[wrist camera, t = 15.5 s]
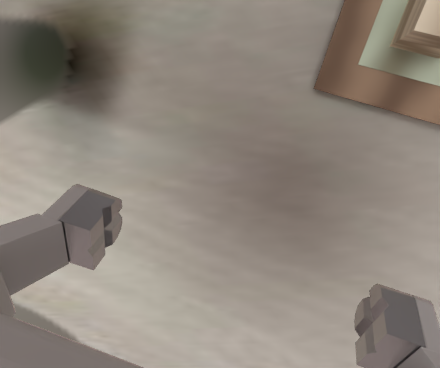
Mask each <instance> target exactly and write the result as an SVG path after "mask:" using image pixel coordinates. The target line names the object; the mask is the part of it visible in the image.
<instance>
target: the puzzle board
mask: <svg viewBox="0 0 440 368" xmlns="http://www.w3.org/2000/svg"><path fill="white" fill-rule="evenodd" d="M407 3H408V0H345V1H344V4H343V7H342V10H341V12H340V15H339V18H338V21H337V24H336V27H335V29H334V32H333V35H332V38H331V41H330V44H329V46H328V49H327V52H326V55H325V58H324V61H323V64H322V66H321V69H320V72H319V75H318V78H317V81H316V83H315V86H314V89H317V90H320V91H324V92H327V93H331V94H334V95H338V96H341V97H344V98H348V99H351V100H355V101H358V102H362V103H365V104H369V105H372V106H376V107H379V108H383V109H386V110H390V111H393V112H397V113H400V114H404V115H407V116H411V117H414V118H418V119H421V120H424V121H428V122H431V123H435V124H438V125H440V58H434V57H430V56H426V55H422V54H418V53H414V52H410V51H406V50H402V49H398V48H394V47H390V44H391V42H392V39H393V37H394V34H395V32H396V29H397V27H398V25H399V22H400V20H401V17H402V15H403V12H404V10H405V8H406V5H407Z"/></svg>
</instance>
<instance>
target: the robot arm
mask: <svg viewBox="0 0 440 368" xmlns="http://www.w3.org/2000/svg"><path fill="white" fill-rule="evenodd" d="M121 209H122V200H121V199H119V198H117V197H114V196H111V195H108V194H105V193H103V192H100V191H97V190H94V189H91V188H88V187H85V186H82V185H80V184H76V185H73V186H72V187H71V188H70V189H69V190H68V191H67V192H66V193H64V194H63V195H62V196H61V197H60V198H59V199H58V200H57V201H56V202H55V203H54V204H53V205H52V206H51V207H50V208H49V209H47V210H46V211H45V212H44V213H43V214H42V215H40V214H35V215H32V216H29V217H26V218H22V219H19V220H16V221H13V222H10V223H7V224H4V225H1V226H0V368H143V367H141V366H138V365H136V364H133V363H131V362H128V361H125V360H123V359H120V358H118V357H115V356H112V355H110V354H107V353H105V352H102V351H99V350H97V349H94V348H92V347H89V346H86V345H84V344H81V343H79V342H76V341H73V340H71V339H68V338H66V337H63V336H60V335H58V334H55V333H52V332H50V331H48V330H45V329H42V328H40V327H37V326H35V325H32V324H29V323H27V322H24V321H21V320H19V319H16V318H14V317H13V316H14V315H15V313H16V312H15V307H14V304H13V302H12V299H11V295H12V294H14V293H16V292H18V291H20V290H22V289H23V288H25V287H27V286H29V285H31V284H33V283H34V282H36V281H38V280H40V279H42V278H43V277H45V276H47V275H49V274H51V273H53V272H54V271H56V270H58V269H60V268H62V267H64V266H65V265H67V264H69V262H70V263H73V264H76V265H79V266H82V267H85V268H88V269H91V270H94V269H95V268H96V267H97V265H98V264H99V263H100V261H101V260H102V258H103V257H104V256H105V248H106V247H108V246H110V245H112V244H113V243H114V242H115V240H116V239H117V237H118V235H119V233H120V230H121V227H122V217H121V215H120V214H119V211H120V210H121ZM369 292H370V297H367V298H364V299H362V301H361V302H360V303H359V305H358V307H357V310H356V313H355V320H354V323H355V330H356V332H357V333H358V335H359V336H360V338H359V339H358V340H357V341H356V343H355V345H356V363H357V365H359V366H361V367H364V368H440V328H439V324H438V320H437V317H436V313H435V309H434V306H433V304H432V303H431V301H429V300H426V299H423V298H420V297H417V296H414V295H410V294H408V293H405V292H402V291H398V290H395V289H392V288H389V287H386V286H383V285H380V284H376V285H373V287H372V288H371V289H370V290H369Z"/></svg>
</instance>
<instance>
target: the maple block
mask: <svg viewBox="0 0 440 368" xmlns="http://www.w3.org/2000/svg"><path fill="white" fill-rule="evenodd" d="M390 47H394V48H398V49H402V50H406V51H410V52H414V53H418V54H422V55H426V56H430V57H434V58H440V0H408V3H407V5H406V8H405V10H404V12H403V15H402V17H401V20H400V22H399V25H398V27H397V29H396V32H395V34H394V37H393V39H392V42H391V44H390Z"/></svg>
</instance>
